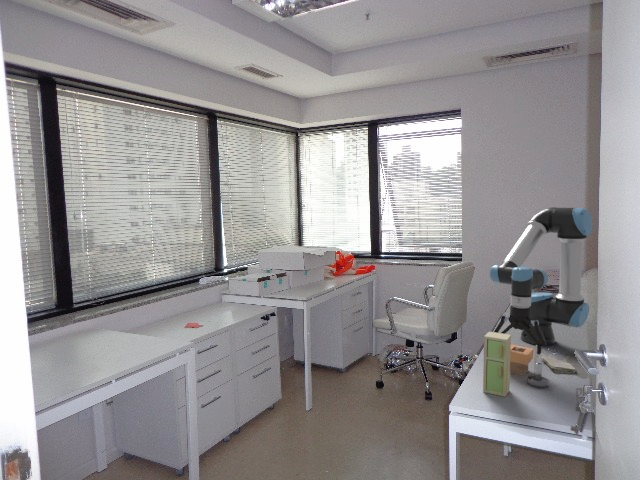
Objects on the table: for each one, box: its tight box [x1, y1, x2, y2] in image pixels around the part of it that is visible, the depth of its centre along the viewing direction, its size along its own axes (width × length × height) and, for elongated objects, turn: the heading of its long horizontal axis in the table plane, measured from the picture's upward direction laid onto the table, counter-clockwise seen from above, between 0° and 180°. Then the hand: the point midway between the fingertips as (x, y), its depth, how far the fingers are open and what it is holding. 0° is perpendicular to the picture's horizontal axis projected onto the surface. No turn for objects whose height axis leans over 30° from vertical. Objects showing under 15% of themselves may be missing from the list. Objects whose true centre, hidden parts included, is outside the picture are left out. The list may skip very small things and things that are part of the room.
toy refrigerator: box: [482, 331, 512, 398], centre depth 166 cm, size 8×7×21 cm
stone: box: [540, 355, 577, 375], centre depth 191 cm, size 15×11×3 cm
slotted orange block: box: [510, 344, 534, 366], centre depth 186 cm, size 9×9×4 cm
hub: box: [526, 362, 549, 390], centre depth 173 cm, size 7×7×8 cm
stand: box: [510, 347, 529, 376], centre depth 186 cm, size 6×6×10 cm
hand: (517, 358), depth 186 cm, fingers open, 13 cm apart
